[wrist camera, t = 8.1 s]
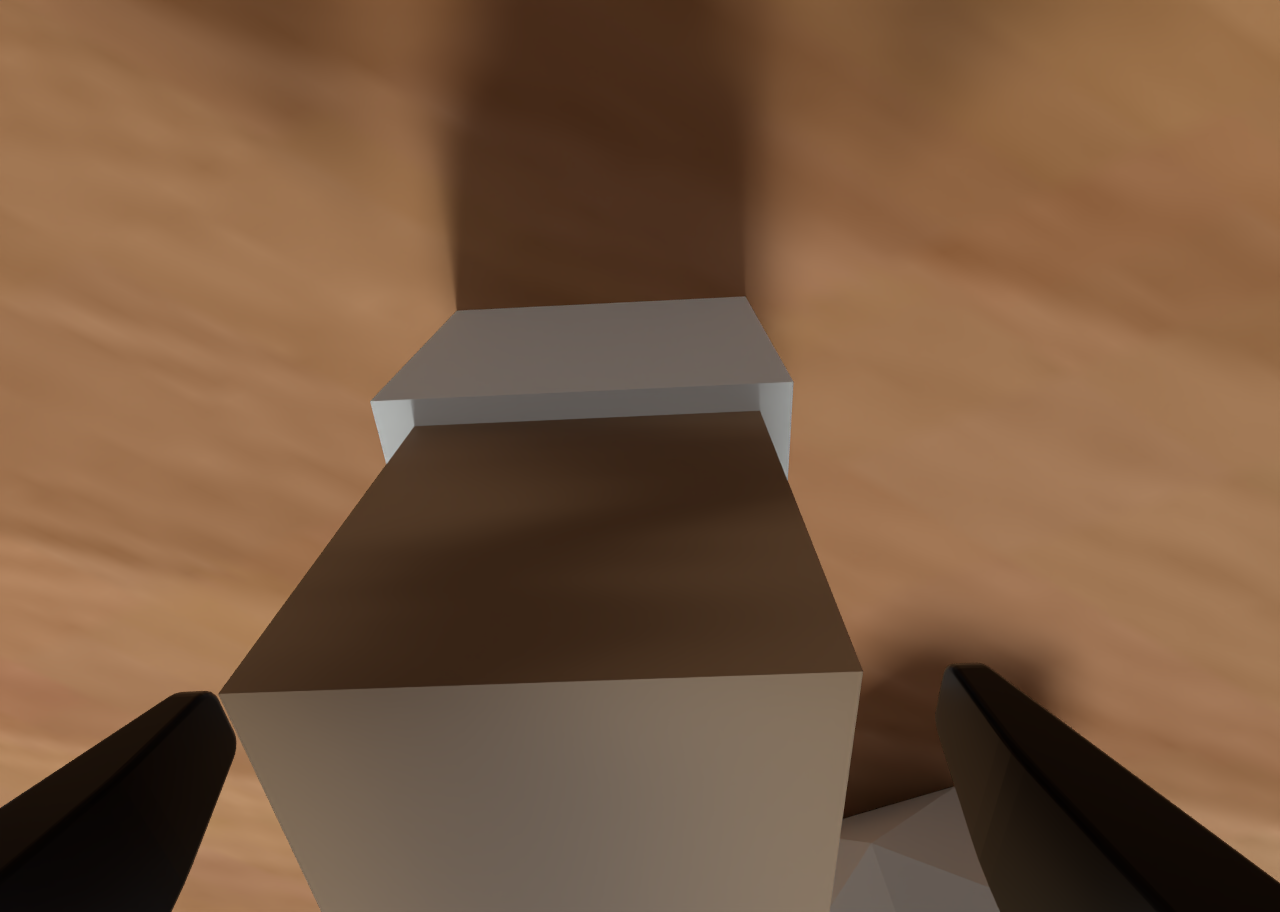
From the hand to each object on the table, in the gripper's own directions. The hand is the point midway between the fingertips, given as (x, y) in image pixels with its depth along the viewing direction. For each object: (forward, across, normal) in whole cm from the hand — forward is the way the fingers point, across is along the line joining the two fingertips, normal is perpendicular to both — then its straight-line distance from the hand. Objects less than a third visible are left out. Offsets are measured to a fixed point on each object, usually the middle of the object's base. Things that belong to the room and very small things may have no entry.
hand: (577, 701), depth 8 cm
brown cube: (+3, 0, 0) cm, 3 cm away
